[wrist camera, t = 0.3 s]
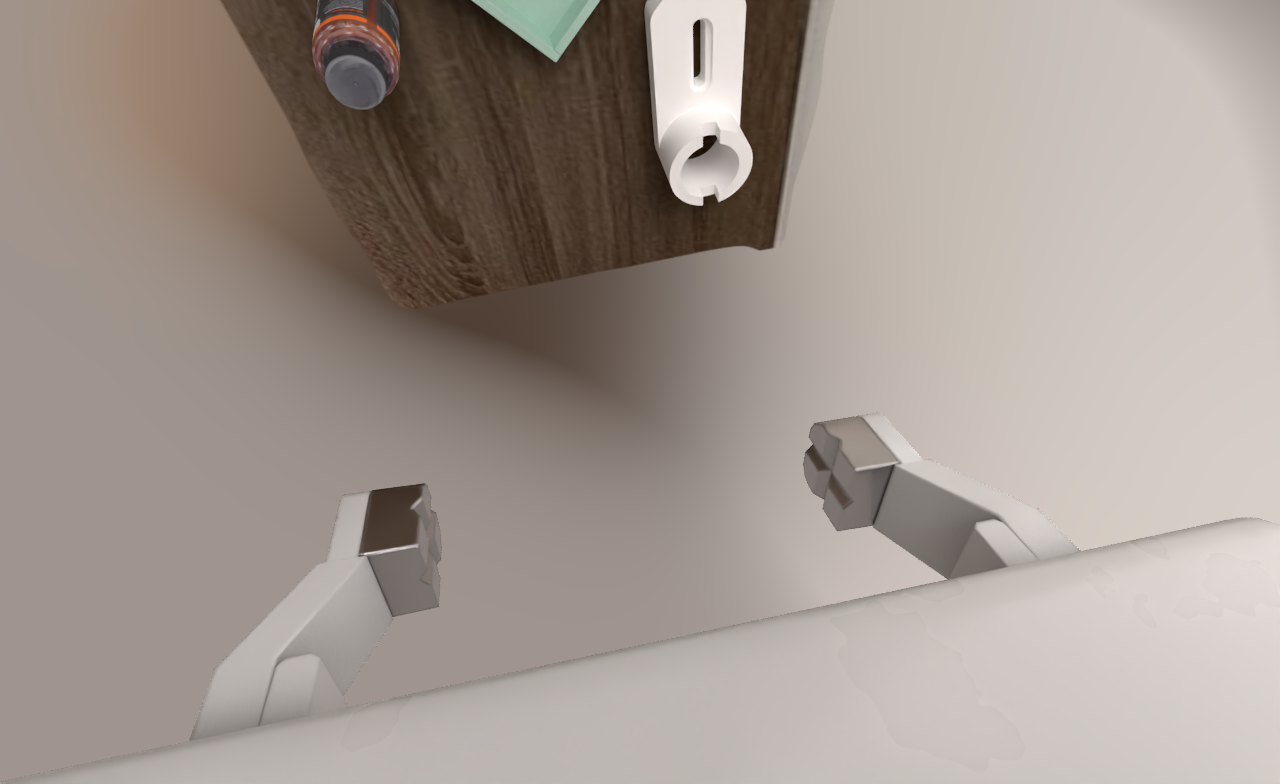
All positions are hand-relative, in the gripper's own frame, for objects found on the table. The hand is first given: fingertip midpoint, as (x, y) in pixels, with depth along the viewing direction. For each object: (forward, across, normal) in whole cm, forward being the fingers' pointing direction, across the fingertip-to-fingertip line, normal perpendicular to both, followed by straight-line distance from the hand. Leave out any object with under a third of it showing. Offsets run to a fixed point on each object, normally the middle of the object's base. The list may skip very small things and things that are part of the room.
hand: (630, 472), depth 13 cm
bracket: (+55, -18, +2) cm, 58 cm away
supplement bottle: (+53, +11, -4) cm, 54 cm away
